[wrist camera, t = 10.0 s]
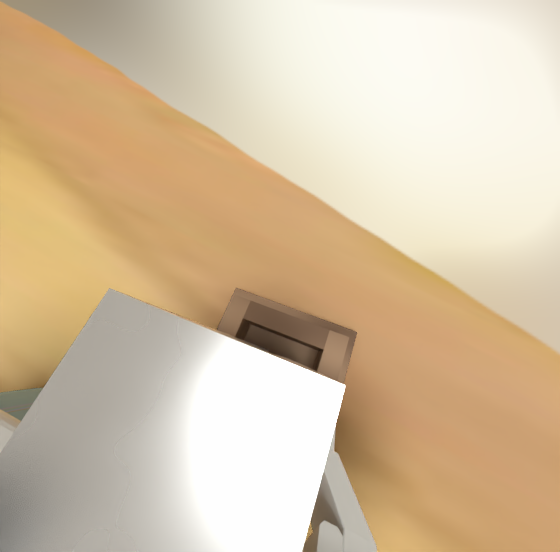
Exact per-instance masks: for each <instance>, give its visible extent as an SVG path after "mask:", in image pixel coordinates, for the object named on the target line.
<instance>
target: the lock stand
mask: <svg viewBox="0 0 560 552" xmlns="http://www.w3.org/2000/svg"><path fill="white" fill-rule="evenodd" d="M217 330H218V331H221V332H223V333H226V334H228V335H231V336H234V337H236V338H239V339H241V340H244V341H246V342H249V343H252V344H254V345H257V346H259V347H262V348H264V349H266V350H269V353H272V354H275V355H279V356H283V357H286V358H288V359H291V360H293V361H296V362H298V363H300V364H302V365H304V366H306V367H309V368H311V369H313V370H315V371H317V372H319V373H321V374H323V375H325V376H327V377H329V378H331V379H333V380H335V381H337V382H339V383H341V384H344V380H345V376H346V373H347V369H348V365H349V361H350V357H351V354H352V350H353V346H354V342H355V338H356V335H357V332H355V331H353V330H350V329H347V328H344V327H342V326H339V325H336V324H334V323H331V322H328V321H325V320H323V319H320V318H317V317H315V316H312V315H309V314H306V313H304V312H301V311H298V310H295V309H293V308H290V307H287V306H285V305H282V304H279V303H276V302H274V301H271V300H268V299H266V298H263V297H260V296H257V295H255V294H252V293H249V292H246V291H244V290H241V289H238V288H236V289H235V291H234V293H233V295H232V298H231V300H230V302H229V304H228V306H227V308H226V311H225V313H224V315H223V317H222V319H221V321H220V323H219V326H218V328H217Z"/></svg>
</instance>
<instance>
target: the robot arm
mask: <svg viewBox="0 0 560 552" xmlns="http://www.w3.org/2000/svg"><path fill="white" fill-rule="evenodd" d="M20 422H21V421H20V420H18V419H17V418H15V417H13V416H11V415H10V414H8V413H6V412H4V411H3V410H1V409H0V452H1V451H2V449H3V448H4V446H5V445H6V443H7V442H8V440H9V439H10V437H11V436H12V434H13V433H14V431H15V430H16V428H17V427H18V425H19V424H20ZM335 428H336V424H335ZM335 428H334V432H333V435H332V439H331V443H330V447H329V451H328V455H327V458H326V462H325V466H324V470H323V474H322V478H321V481H320V485H319V489H318V493H317V497H316V500H315V504H314V508H313V512H312V516H311V525H312V530H313V533H312V534H311V535H310V537H309V538H308V539H307V540H306V541H305V543H304V546H303V550H302V552H377V547H376V544H375V541H374V539H373V536H372V534H371V532H370V529H369V527H368V524H367V522H366V520H365V517H364V515H363V512H362V510H361V507H360V505H359V503H358V500H357V498H356V495H355V493H354V491H353V488H352V486H351V483H350V481H349V478H348V476H347V474H346V471H345V469H344V466H343V464H342V462H341V459H340V457H339V454H338V453H337V452H335V451H334V445H335Z"/></svg>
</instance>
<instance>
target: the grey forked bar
mask: <svg viewBox="0 0 560 552" xmlns="http://www.w3.org/2000/svg"><path fill="white" fill-rule="evenodd" d="M344 390H345V385H343V384H341V383H339V382H337V381H335V380H333V379H331V378H329V377H327V376H325V375H323V374H321V373H319V372H317V371H315V370H313V369H311V368H309V367H306V366H304V365H302V364H300V363H298V362H296V361H293V360H291V359H288V358H286V357H283V356H279V355H275V354H272V353H269V350H266V349H264V348H262V347H259V346H257V345H254V344H252V343H249V342H246V341H244V340H241V339H239V338H236V337H234V336H231V335H228V334H226V333H223V332H221V331H218V330H216V329H213V328H210V327H208V326H205V325H203V324H200V323H198V322H195V321H192V320H190V319H187V318H185V317H182V316H180V315H177V314H174V313H172V312H169V311H167V310H164V309H162V308H159V307H156V306H154V305H151V304H149V303H146V302H144V301H141V300H138V299H136V298H133V297H131V296H128V295H126V294H123V293H120V292H118V291H115V290H113V289H110V288H109V290H108V291H107V293H106V294H105V296H104V297H103V299H102V300H101V302H100V303H99V305H98V306H97V308H96V309H95V311H94V312H93V314H92V315H91V317H90V318H89V320H88V321H87V323H86V324H85V326H84V327H83V329H82V330H81V332H80V333H79V335H78V336H77V338H76V339H75V341H74V342H73V344H72V345H71V347H70V349H69V350H68V352H67V353H66V355H65V356H64V358H63V359H62V361H61V362H60V364H59V365H58V367H57V368H56V370H55V371H54V373H53V374H52V376H51V377H50V379H49V380H48V382H47V383H46V385H45V386H44V388H43V389H42V391H41V392H40V394H39V395H38V397H37V398H36V400H35V401H34V403H33V404H32V406H31V407H30V409H29V410H28V412H27V413H26V415H25V416H24V418H23V419H22V421H21V422H20V424H19V425H18V427H17V428H16V430H15V431H14V433H13V434H12V436H11V437H10V439H9V440H8V442H7V443H6V445H5V446H4V448H3V449H2V451H1V452H0V552H302V550H303V546H304V542H305V539H306V535H307V531H308V527H309V523H310V520H311V516H312V512H313V508H314V504H315V500H316V497H317V493H318V489H319V485H320V481H321V478H322V474H323V470H324V466H325V462H326V458H327V455H328V451H329V447H330V443H331V439H332V435H333V432H334V428H335V424H336V420H337V416H338V413H339V409H340V405H341V401H342V397H343V393H344Z"/></svg>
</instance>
